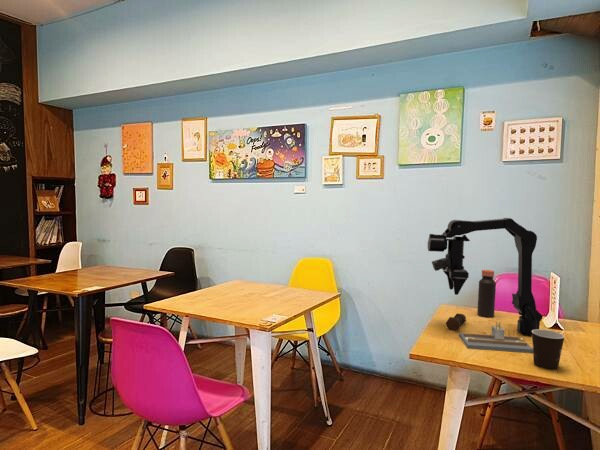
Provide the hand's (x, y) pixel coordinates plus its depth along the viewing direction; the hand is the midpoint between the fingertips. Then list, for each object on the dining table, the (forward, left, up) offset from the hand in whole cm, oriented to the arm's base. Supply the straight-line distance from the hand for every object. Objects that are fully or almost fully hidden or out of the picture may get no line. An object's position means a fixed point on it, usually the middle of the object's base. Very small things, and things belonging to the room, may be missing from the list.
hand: (453, 291), depth 159 cm
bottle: (-19, -23, -15) cm, 34 cm away
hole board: (-11, +15, -15) cm, 24 cm away
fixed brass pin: (-20, +15, -13) cm, 28 cm away
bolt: (-3, -4, -15) cm, 16 cm away
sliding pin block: (-12, +15, -13) cm, 23 cm away
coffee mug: (-22, +31, -15) cm, 41 cm away
